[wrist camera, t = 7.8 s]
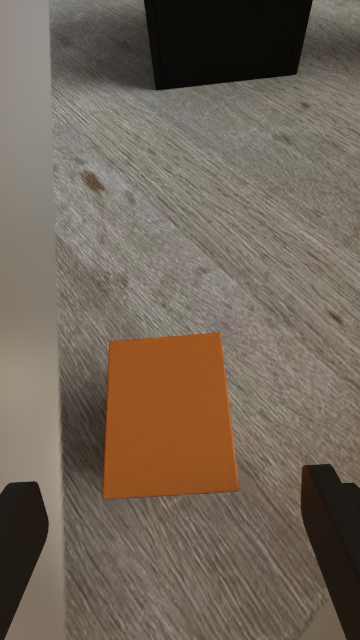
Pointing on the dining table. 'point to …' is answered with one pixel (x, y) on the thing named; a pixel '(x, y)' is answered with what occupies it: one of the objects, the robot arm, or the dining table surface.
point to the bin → (224, 39)
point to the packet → (168, 419)
